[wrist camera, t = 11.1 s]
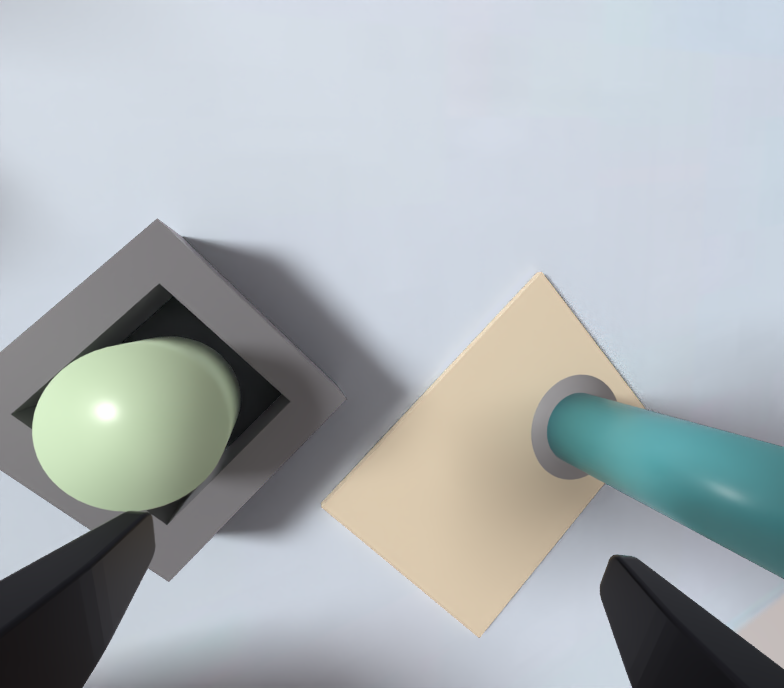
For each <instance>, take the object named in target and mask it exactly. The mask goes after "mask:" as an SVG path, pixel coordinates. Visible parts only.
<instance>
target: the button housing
mask: <svg viewBox="0 0 784 688" xmlns="http://www.w3.org/2000/svg"><path fill="white" fill-rule="evenodd" d="M173 296H174V297H175V298H176V299H177V300H179V301H180V302H181V303H182V304H183V305H184V306H185V307H186V308H187V309H189V310H190V311H191V312H192V313H193V314H194V315H195V316H196V317H197V318H199V319H200V320H201V321H202V322H203V323H204V324H205V325H206V326H207V327H209V328H210V329H211V330H212V331H213V332H214V333H215V334H216V335H217V336H218V337H220V338H221V339H222V340H223V341H224V342H225V343H226V344H227V345H228V346H230V347H231V348H232V349H233V350H234V351H235V352H236V353H237V354H238V355H240V356H241V357H242V358H243V359H244V360H245V361H246V362H247V363H248V364H250V365H251V366H252V367H253V368H254V369H255V370H256V371H257V372H258V373H260V374H261V375H262V376H263V377H264V378H265V379H266V380H267V381H268V382H269V383H271V384H272V385H273V386H274V387H275V388H276V389H277V390H278V391H279V392H281V393H282V394H281V395H280V396H279V397H278V398H277V399H276V400H275V401H274V402H273V403H272V404H271V405H270V406H269V407H268V408H267V409H266V410H265V411H264V412H263V413H262V414H261V415H260V416H259V417H258V418H257V419H256V420H255V421H254V422H253V423H252V424H251V425H250V426H249V427H248V428H247V429H246V430H245V431H244V432H243V433H242V434H241V435H240V436H239V437H238V438H237V439H236V440H235V441H234V442H233V443H232V444H231V445H230V446H229V447H228V448H227V449H226V450H225V451H224V452H223V454H222V456H221V458H220V460H219V462H218V464H217V465H216V467H215V468H214V470H213V471H212V473H211V474H210V475H209V476H208V477H207V478H206V479H205V480H204V481H203V482H202V483H201V484H200V485H199V486H198V487H197V488H196V489H194V490H193V491H191V492H190V493H188V494H187V495H185V496H184V497H182V498H180V499H178V500H176V501H174V502H171V503H169V504H166V505H164V506H160V507H157V508H153V509H148V510H142V512H148V513H150V514H151V515H152V516H153V523H154V533H155V543H156V547H155V553H154V556H153V559H152V561H151V563H150V565H149V567H148V568H149V569H150V570H152V571H153V572H155V573H156V574H158V575H159V576H161V577H162V578H164V579H165V580H167V581H168V582H169V581H170V580H171V579H172V578H173V577H174V576H175V575H176V574H177V573H178V572H179V571H180V570H181V569H182V568H183V567H184V566H185V565H186V564H187V563H188V562H189V561H190V560H191V559H192V558H193V557H194V556H195V555H196V554H197V553H198V552H199V551H200V549H201V548H202V547H203V546H204V545H205V544H206V543H207V542H208V541H209V540H210V539H211V538H212V537H213V536H214V535H215V534H216V533H217V532H218V531H219V530H220V529H221V528H222V527H223V526H224V525H225V524H226V523H227V522H228V521H229V520H230V519H231V518H232V517H233V516H234V515H235V514H236V512H237V511H238V510H239V509H240V508H241V507H242V506H243V505H244V504H245V503H246V502H247V501H248V500H249V499H250V498H251V497H252V496H253V495H254V494H255V493H256V492H257V491H258V490H259V489H260V488H261V487H262V486H263V485H264V484H265V483H266V482H267V481H268V480H269V479H270V478H271V476H272V475H273V474H274V473H275V472H276V471H277V470H278V469H279V468H280V467H281V466H282V465H283V464H284V463H285V462H286V461H287V460H288V459H289V458H290V457H291V456H292V455H293V454H294V453H295V452H296V451H297V450H298V449H299V448H300V447H301V446H302V445H303V444H304V443H305V442H306V441H307V439H308V438H309V437H310V436H311V435H312V434H313V433H314V432H315V431H316V430H317V429H318V428H319V427H320V426H321V425H322V424H323V423H324V422H325V421H326V420H327V419H328V418H329V417H330V416H331V415H332V414H333V413H334V412H335V411H336V410H337V409H338V408H339V407H340V406H341V405H342V404H343V402H344V401H345V400H346V397H345V396H344V394H343V393H342V392H341V390H340V389H339V388H338V386H337V385H336V384H335V383H334V382H333V381H332V380H331V379H330V378H329V377H328V376H327V375H326V374H325V373H324V372H323V371H322V370H321V369H319V368H318V367H317V366H316V365H315V364H314V363H313V362H312V361H311V360H310V359H309V358H308V357H307V356H306V355H305V354H304V353H303V352H302V351H301V350H300V349H299V348H298V347H296V346H295V345H294V344H293V343H292V342H291V341H290V340H289V339H288V338H287V337H286V336H285V335H284V334H283V333H282V332H281V331H280V330H279V329H278V328H277V327H276V326H275V325H273V324H272V323H271V322H270V321H269V320H268V319H267V318H266V317H265V316H264V315H263V314H262V313H261V312H260V311H259V310H258V309H257V308H256V307H255V306H254V305H253V304H252V303H250V302H249V301H248V300H247V299H246V298H245V297H244V296H243V295H242V294H241V293H240V292H239V291H238V290H237V289H236V288H235V287H234V286H233V285H232V284H231V283H230V282H229V281H227V280H226V279H225V278H224V277H223V276H222V275H221V274H220V273H219V272H218V271H217V270H216V269H215V268H214V267H213V266H212V265H211V264H210V263H209V262H208V261H207V260H206V259H205V258H203V257H202V256H201V255H200V254H199V253H198V252H197V251H196V250H195V249H194V248H193V247H192V246H191V245H190V244H189V243H188V242H187V241H186V240H185V239H184V238H183V237H182V236H180V235H179V234H178V233H176V232H175V231H174V230H172V229H171V228H170V227H168V226H167V225H165V224H164V223H163V222H161V221H160V220H159V219H156V220H155V221H154V222H153V223H151V224H150V225H149V226H148V227H147V228H145V229H144V230H143V231H142V232H141V233H140V234H138V235H137V236H136V237H135V238H134V239H133V240H131V241H130V242H129V243H128V244H127V245H126V246H124V247H123V248H122V249H121V250H120V251H119V252H117V253H116V254H115V255H114V256H113V257H111V258H110V259H109V260H108V261H107V262H106V263H104V264H103V265H102V266H101V267H100V268H99V269H97V270H96V271H95V272H94V273H93V274H92V275H90V276H89V277H88V278H87V279H86V280H85V281H83V282H82V283H81V284H80V285H79V286H77V287H76V288H75V289H74V290H73V291H72V292H70V293H69V294H68V295H67V296H66V297H65V298H63V299H62V300H61V301H60V302H59V303H58V304H56V305H55V306H54V307H53V308H52V309H51V310H49V311H48V312H47V313H46V314H45V315H43V316H42V317H41V318H40V319H39V320H38V321H36V322H35V323H34V324H33V325H32V326H31V327H29V328H28V329H27V330H26V331H25V332H24V333H22V334H21V335H20V336H19V337H18V338H17V339H15V340H14V341H13V342H12V343H11V344H9V345H8V346H7V347H6V348H5V349H4V350H2V351H1V352H0V470H1V471H3V472H4V473H6V474H7V475H9V476H10V477H12V478H13V479H15V480H16V481H18V482H19V483H21V484H22V485H24V486H25V487H27V488H28V489H30V490H31V491H33V492H34V493H36V494H37V495H39V496H40V497H42V498H43V499H45V500H46V501H48V502H49V503H51V504H52V505H54V506H55V507H57V508H58V509H60V510H61V511H63V512H64V513H66V514H67V515H69V516H70V517H72V518H73V519H75V520H76V521H78V522H79V523H81V524H82V525H84V526H85V527H87V528H88V529H90V530H93V529H95V528H97V527H98V526H100V525H102V524H104V523H106V522H108V521H109V520H111V519H113V518H115V517H117V516H118V515H120V514H122V513H124V511H112V510H106V509H101V508H97V507H94V506H90V505H88V504H85V503H83V502H81V501H78V500H77V499H75V498H73V497H72V496H70V495H68V494H67V493H65V492H64V491H63V490H62V489H60V488H59V487H58V486H57V485H56V484H55V483H54V482H53V481H52V480H51V479H50V478H49V477H48V475H47V474H46V472H45V471H44V469H43V468H42V466H41V464H40V462H39V460H38V458H37V455H36V452H35V449H34V444H33V437H32V423H33V418H34V412H35V409H36V407H37V404H38V401H39V399H40V397H41V395H42V393H43V392H44V390H45V388H46V387H47V386H48V384H49V383H50V382H51V380H52V379H53V378H54V377H55V376H56V375H57V374H58V373H59V372H60V371H61V370H62V369H64V368H65V367H66V366H68V365H69V364H70V363H72V362H73V361H75V360H77V359H79V358H80V357H82V356H84V355H86V354H89V353H91V352H93V351H96V350H99V349H103V348H106V347H111V346H115V345H119V344H120V343H122V342H123V341H124V340H125V339H126V338H127V337H128V336H129V335H131V334H132V333H133V332H134V331H135V330H136V329H137V328H138V327H139V326H141V325H142V324H143V323H144V322H145V321H146V320H147V319H148V318H150V317H151V316H152V315H153V314H154V313H155V312H156V311H157V310H158V309H160V308H161V307H162V306H163V305H164V304H165V303H166V302H167V301H168V300H170V299H171V298H172V297H173Z"/></svg>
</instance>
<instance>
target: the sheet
mask: <svg viewBox="0 0 784 688" xmlns="http://www.w3.org/2000/svg"><path fill="white" fill-rule="evenodd" d="M574 393H587V394H590V395H594V396H598V397H601V398H605V399H609V400H612V401H616V402H620V403H623V404H627V405H631V406H634V407H638V408H642V409H645V407H644V406H643V405H642V404H641V402H640V401H639V400H638V398H637V397H636V396H635V394H634V393H633V392H632V390H631V389H630V388H629V386H628V385H627V384H626V382H625V381H624V380H623V378H622V377H621V376H620V374H619V373H618V372H617V371H616V369H615V368H614V367H613V365H612V364H611V363H610V361H609V360H608V359H607V357H606V356H605V355H604V353H603V352H602V351H601V349H600V348H599V347H598V345H597V344H596V343H595V341H594V340H593V339H592V338H591V336H590V335H589V334H588V332H587V331H586V330H585V328H584V327H583V326H582V324H581V323H580V322H579V320H578V319H577V318H576V316H575V315H574V314H573V312H572V311H571V310H570V308H569V307H568V306H567V305H566V303H565V302H564V301H563V299H562V298H561V297H560V295H559V294H558V293H557V291H556V290H555V289H554V287H553V286H552V285H551V283H550V282H549V281H548V279H547V278H546V277H545V275H544V274H543V273H542V272H538V273H536V274H535V275H534V276H533V277H532V278H531V279H530V281H529V282H528V283H527V284H526V285H525V286H524V287H523V288H522V289H521V290H520V291H519V292H518V293H517V294H516V296H515V297H514V298H513V299H512V300H511V301H510V302H509V303H508V304H507V305H506V306H505V307H504V308H503V309H502V310H501V312H500V313H499V314H498V315H497V316H496V317H495V318H494V319H493V320H492V321H491V322H490V323H489V324H488V325H487V326H486V328H485V329H484V330H483V331H482V332H481V333H480V334H479V335H478V336H477V337H476V338H475V339H474V340H473V341H472V342H471V344H470V345H469V346H468V347H467V348H466V349H465V350H464V351H463V352H462V353H461V354H460V355H459V356H458V357H457V358H456V360H455V361H454V362H453V363H452V364H451V365H450V366H449V367H448V368H447V369H446V370H445V371H444V372H443V373H442V374H441V376H440V377H439V378H438V379H437V380H436V381H435V382H434V383H433V384H432V385H431V386H430V387H429V388H428V389H427V390H426V392H425V393H424V394H423V395H422V396H421V397H420V398H419V399H418V400H417V401H416V402H415V403H414V404H413V405H412V406H411V408H410V409H409V410H408V411H407V412H406V413H405V414H404V415H403V416H402V417H401V418H400V419H399V420H398V421H397V422H396V424H395V425H394V426H393V427H392V428H391V429H390V430H389V431H388V432H387V433H386V434H385V435H384V436H383V437H382V438H381V440H380V441H379V442H378V443H377V444H376V445H375V446H374V447H373V448H372V449H371V450H370V451H369V452H368V453H367V455H366V456H365V457H364V458H363V459H362V460H361V461H360V462H359V463H358V464H357V465H356V466H355V467H354V468H353V469H352V471H351V472H350V473H349V474H348V475H347V476H346V477H345V478H344V479H343V480H342V481H341V482H340V483H339V484H338V485H337V487H336V488H335V489H334V490H333V491H332V492H331V493H330V494H329V495H328V496H327V497H326V498H325V499H324V500H323V501H322V503H321V507H322V508H323V509H324V510H325V511H327V512H328V513H329V514H330V515H331V516H333V517H334V518H335V519H336V520H337V521H339V522H340V523H341V524H342V525H343V526H345V527H346V528H347V529H348V530H349V531H351V532H352V533H353V534H354V535H356V536H357V537H358V538H359V539H360V540H362V541H363V542H364V543H365V544H366V545H368V546H369V547H370V548H371V549H372V550H374V551H375V552H376V553H377V554H378V555H380V556H381V557H382V558H383V559H384V560H386V561H387V562H388V563H389V564H390V565H392V566H393V567H394V568H395V569H397V570H398V571H399V572H400V573H401V574H403V575H404V576H405V577H406V578H407V579H409V580H410V581H411V582H412V583H413V584H415V585H416V586H417V587H418V588H419V589H421V590H422V591H423V592H424V593H425V594H427V595H428V596H429V597H430V598H431V599H433V600H434V601H435V602H436V603H438V604H439V605H440V606H441V607H442V608H444V609H445V610H446V611H447V612H448V613H450V614H451V615H452V616H453V617H454V618H456V619H457V620H458V621H459V622H460V623H462V624H463V625H464V626H465V627H466V628H468V629H469V630H470V631H471V632H472V633H474V634H475V635H476V636H477V637H479V638H480V637H481V635H482V634H483V633H484V632H485V630H486V629H487V628H488V627H489V626H490V624H491V623H492V622H493V621H494V619H495V618H496V617H497V616H498V614H499V613H500V612H501V611H502V609H503V608H504V607H505V606H506V605H507V603H508V602H509V601H510V600H511V598H512V597H513V596H514V595H515V593H516V592H517V591H518V590H519V588H520V587H521V586H522V585H523V584H524V582H525V581H526V580H527V579H528V577H529V576H530V575H531V574H532V572H533V571H534V570H535V569H536V568H537V566H538V565H539V564H540V563H541V561H542V560H543V559H544V558H545V556H546V555H547V554H548V553H549V551H550V550H551V549H552V548H553V547H554V545H555V544H556V543H557V542H558V540H559V539H560V538H561V537H562V535H563V534H564V533H565V532H566V530H567V529H568V528H569V527H570V526H571V524H572V523H573V522H574V521H575V519H576V518H577V517H578V516H579V514H580V513H581V512H582V511H583V510H584V508H585V507H586V506H587V505H588V503H589V502H590V501H591V500H592V498H593V497H594V496H595V495H596V493H597V492H598V491H599V490H600V489H601V487H602V486H603V485H604V484H605V483H604V482H602V481H600V480H598V479H596V478H594V477H592V476H590V475H589V474H587V473H585V472H583V471H581V470H579V469H577V468H575V467H574V466H572V465H570V464H568V463H566V462H564V461H562V460H561V459H559V458H558V457H557V456H556V455H555V454H554V453H553V452H552V450H551V448H550V446H549V443H548V439H547V426H548V421H549V418H550V416H551V413H552V411H553V410H554V408H555V407H556V405H557V404H558V403H559V402H560V401H561V400H562V399H564V398H565V397H567V396H569V395H571V394H574Z"/></svg>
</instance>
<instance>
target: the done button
mask: <svg viewBox="0 0 784 688" xmlns="http://www.w3.org/2000/svg"><path fill="white" fill-rule="evenodd" d="M240 406H241V393H240V387H239V382H238V380H237V377H236V375H235V373H234V371H233V369H232V367H231V366H230V365H229V363H228V362H227V361H226V360H225V359H224V358H223V357H222V356H221V355H220V354H219V353H218V352H216V351H215V350H214V349H212V348H211V347H209V346H207V345H205V344H203V343H201V342H199V341H196V340H192V339H189V338H184V337H177V336H162V337H155V338H149V339H145V340H140V341H135V342H130V343H125V344H120V345H115V346H111V347H106V348H103V349H99V350H96V351H93V352H91V353H89V354H86V355H84V356H82V357H80V358H79V359H77V360H75V361H73V362H72V363H70V364H69V365H68V366H66V367H65V368H64V369H62V370H61V371H60V372H59V373H58V374H57V375H56V376H55V377H54V378H53V379H52V380H51V382H50V383H49V384H48V386H47V387H46V388H45V390H44V392H43V393H42V395H41V397H40V399H39V401H38V404H37V407H36V409H35V412H34V418H33V423H32V437H33V444H34V449H35V452H36V455H37V458H38V460H39V462H40V464H41V466H42V468H43V469H44V471H45V472H46V474H47V475H48V477H49V478H50V479H51V480H52V481H53V482H54V483H55V484H56V485H57V486H58V487H59V488H60V489H62V490H63V491H64V492H65V493H67V494H68V495H70V496H72V497H73V498H75V499H77V500H78V501H81V502H83V503H85V504H88V505H90V506H94V507H97V508H101V509H106V510H112V511H124V512H126V511H142V510H148V509H153V508H157V507H160V506H164V505H166V504H169V503H171V502H174V501H176V500H178V499H180V498H182V497H184V496H185V495H187V494H188V493H190V492H191V491H193V490H194V489H196V488H197V487H198V486H199V485H200V484H201V483H202V482H203V481H204V480H205V479H206V478H207V477H208V476H209V475H210V474H211V473H212V471H213V470H214V468H215V467H216V465H217V464H218V462H219V460H220V458H221V456H222V454H223V452H224V449H225V447H226V445H227V442H228V440H229V437H230V435H231V433H232V430H233V428H234V426H235V423H236V421H237V418H238V415H239V411H240Z"/></svg>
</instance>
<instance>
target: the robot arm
mask: <svg viewBox="0 0 784 688" xmlns="http://www.w3.org/2000/svg"><path fill="white" fill-rule="evenodd" d="M155 547H156V543H155V533H154V523H153V516H152V515H151V514H150V513H148V512H142V511H126V512H124V513H122V514H120V515H118V516H117V517H115V518H113V519H111V520H109V521H108V522H106V523H104V524H102V525H100V526H98V527H97V528H95V529H93V530H91V531H89V532H88V533H86V534H84V535H82V536H80V537H79V538H77V539H75V540H73V541H71V542H69V543H68V544H66V545H64V546H62V547H60V548H59V549H57V550H55V551H53V552H51V553H49V554H48V555H46V556H44V557H42V558H40V559H39V560H37V561H35V562H33V563H31V564H30V565H28V566H26V567H24V568H22V569H20V570H19V571H17V572H15V573H13V574H11V575H10V576H8V577H6V578H4V579H2V580H0V688H82V687H83V686H84V684H85V683H86V681H87V679H88V678H89V676H90V675H91V673H92V671H93V670H94V668H95V667H96V665H97V663H98V662H99V660H100V658H101V657H102V655H103V653H104V651H105V650H106V648H107V646H108V644H109V642H110V641H111V639H112V637H113V635H114V633H115V631H116V629H117V627H118V625H119V623H120V621H121V619H122V618H123V616H124V614H125V612H126V610H127V608H128V606H129V604H130V602H131V600H132V598H133V596H134V594H135V592H136V590H137V588H138V586H139V584H140V582H141V580H142V578H143V576H144V575H145V573H146V571H147V569H148V567H149V565H150V563H151V561H152V559H153V556H154V553H155ZM600 596H601V600H602V603H603V606H604V609H605V612H606V615H607V617H608V620H609V623H610V626H611V629H612V632H613V635H614V638H615V640H616V643H617V646H618V649H619V652H620V655H621V658H622V661H623V664H624V666H625V669H626V672H627V675H628V678H629V680H630V683H631V686H632V688H784V669H783V668H781V667H780V666H779V665H778V664H776V663H774V661H772V660H771V659H770V658H768V657H767V656H766V655H764V654H763V653H762V652H760V651H759V650H758V649H756V648H755V647H754V646H752V645H751V644H750V643H748V642H747V641H746V640H744V639H743V638H742V637H741V636H739V635H738V634H737V633H735V632H734V631H733V630H731V629H730V628H729V627H727V626H726V625H725V624H723V623H722V622H721V621H719V620H718V619H717V618H715V617H714V616H713V615H711V614H710V613H709V612H708V611H706V610H705V609H704V608H702V607H701V606H700V605H698V604H697V603H696V602H694V601H693V600H692V599H690V598H689V597H688V596H686V595H685V594H684V593H682V592H681V591H680V590H678V589H677V588H676V587H674V586H673V585H672V584H671V583H669V582H668V581H667V580H665V579H664V578H663V577H661V576H660V575H659V574H657V573H656V572H655V571H653V570H652V569H651V568H649V567H648V566H647V565H645V564H644V563H643V562H641V561H640V560H639V559H637V558H635V557H633V556H625V555H613V556H612V557H611V558H610V559H609V562H608V564H607V567H606V570H605V573H604V575H603V578H602V581H601V584H600Z"/></svg>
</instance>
